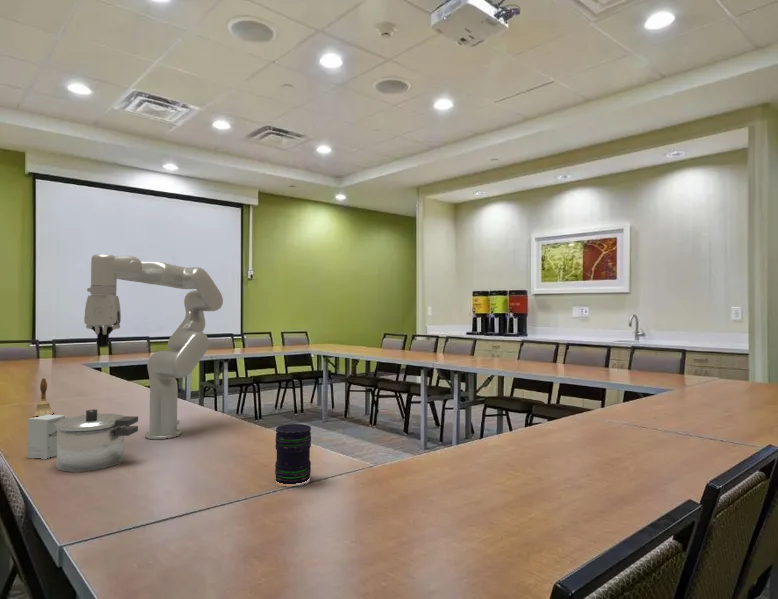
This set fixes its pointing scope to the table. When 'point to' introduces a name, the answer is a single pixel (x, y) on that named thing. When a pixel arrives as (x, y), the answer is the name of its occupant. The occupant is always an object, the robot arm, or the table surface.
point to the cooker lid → (94, 421)
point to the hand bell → (43, 402)
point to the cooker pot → (91, 448)
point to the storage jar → (293, 453)
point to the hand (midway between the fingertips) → (102, 346)
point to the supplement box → (43, 436)
